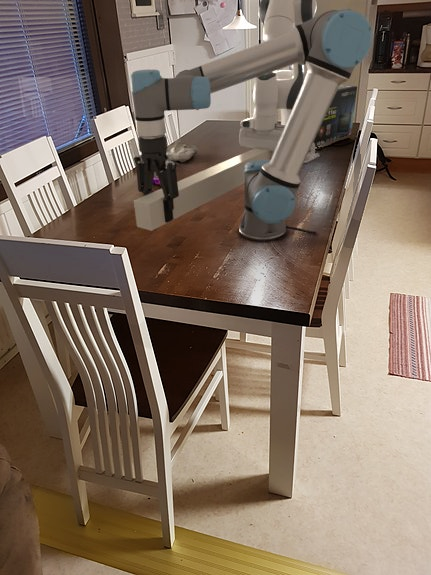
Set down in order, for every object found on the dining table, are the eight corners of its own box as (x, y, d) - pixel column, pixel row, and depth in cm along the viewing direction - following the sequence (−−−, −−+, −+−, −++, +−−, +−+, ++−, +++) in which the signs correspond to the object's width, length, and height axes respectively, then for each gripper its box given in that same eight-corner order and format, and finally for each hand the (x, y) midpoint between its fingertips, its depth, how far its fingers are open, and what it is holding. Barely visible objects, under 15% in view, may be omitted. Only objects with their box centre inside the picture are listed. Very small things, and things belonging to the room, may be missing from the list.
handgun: (147, 181, 199) (146, 177, 198) (164, 179, 200) (164, 175, 199) (150, 197, 182) (149, 192, 181) (169, 195, 183) (169, 190, 182)
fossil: (184, 156, 217) (163, 136, 220) (174, 174, 223) (154, 154, 227) (205, 153, 231) (186, 134, 234) (195, 171, 237) (176, 152, 240)
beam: (151, 231, 125) (148, 204, 121) (136, 226, 128) (133, 200, 124) (280, 165, 174) (280, 144, 171) (267, 163, 177) (267, 142, 173)
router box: (314, 151, 231) (318, 94, 217) (296, 148, 237) (299, 92, 224) (352, 138, 251) (358, 85, 238) (335, 135, 258) (340, 83, 245)
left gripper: (188, 136, 117) (194, 220, 129) (136, 129, 127) (146, 208, 139) (169, 142, 112) (177, 230, 124) (116, 134, 122) (128, 216, 134)
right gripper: (295, 123, 159) (293, 163, 167) (245, 118, 170) (246, 155, 177) (286, 127, 155) (285, 167, 162) (236, 121, 166) (237, 159, 173)
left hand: (161, 218), depth 131 cm, fingers closed on beam, 6 cm apart
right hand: (264, 161), depth 170 cm, fingers closed on beam, 5 cm apart
